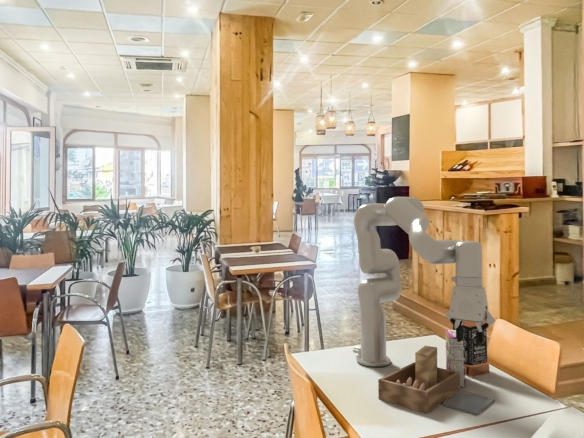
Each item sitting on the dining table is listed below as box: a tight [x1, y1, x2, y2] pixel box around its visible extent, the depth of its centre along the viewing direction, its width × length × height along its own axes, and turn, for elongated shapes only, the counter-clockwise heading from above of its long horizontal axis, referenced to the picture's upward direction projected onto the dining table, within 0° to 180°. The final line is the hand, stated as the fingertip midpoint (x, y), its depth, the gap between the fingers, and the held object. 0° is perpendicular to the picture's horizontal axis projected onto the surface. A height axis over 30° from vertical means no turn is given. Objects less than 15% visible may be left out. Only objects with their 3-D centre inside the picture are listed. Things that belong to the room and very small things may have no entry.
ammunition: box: [396, 377, 425, 390], centre depth 143 cm, size 5×7×8 cm
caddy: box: [377, 361, 461, 415], centre depth 144 cm, size 16×23×6 cm
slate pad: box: [442, 390, 496, 416], centre depth 138 cm, size 10×14×1 cm
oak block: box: [414, 345, 438, 391], centre depth 149 cm, size 4×10×13 cm, turn 146°
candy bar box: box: [444, 329, 466, 388], centre depth 156 cm, size 11×5×16 cm, turn 168°
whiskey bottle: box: [452, 319, 490, 378], centre depth 166 cm, size 10×10×32 cm
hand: (469, 342), depth 138 cm, fingers open, 5 cm apart
